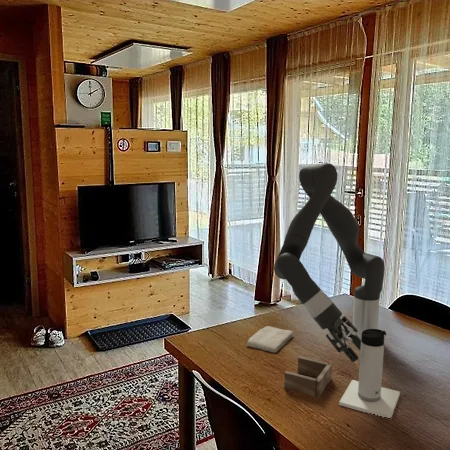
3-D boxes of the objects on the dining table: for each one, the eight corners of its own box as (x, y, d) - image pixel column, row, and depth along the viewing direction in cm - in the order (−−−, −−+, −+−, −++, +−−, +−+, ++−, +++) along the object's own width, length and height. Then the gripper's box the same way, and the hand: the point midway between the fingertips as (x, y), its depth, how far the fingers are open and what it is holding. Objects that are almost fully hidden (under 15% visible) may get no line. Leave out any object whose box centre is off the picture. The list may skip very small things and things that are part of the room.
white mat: (352, 382, 141) (352, 379, 140) (399, 394, 134) (400, 391, 133) (339, 404, 129) (339, 401, 128) (390, 419, 122) (391, 416, 121)
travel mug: (383, 403, 127) (387, 336, 124) (358, 400, 129) (362, 334, 125) (380, 391, 133) (384, 327, 130) (357, 389, 135) (360, 325, 131)
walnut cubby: (299, 370, 148) (299, 356, 147) (331, 378, 143) (332, 364, 142) (284, 387, 138) (284, 372, 137) (318, 397, 132) (319, 381, 132)
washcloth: (294, 336, 176) (294, 329, 175) (276, 355, 160) (276, 346, 160) (266, 330, 182) (266, 323, 181) (246, 347, 166) (246, 339, 166)
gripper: (324, 310, 126) (363, 357, 123) (338, 295, 138) (374, 338, 135) (305, 324, 130) (343, 371, 126) (320, 308, 142) (356, 351, 138)
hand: (359, 354), depth 131 cm, fingers open, 8 cm apart
